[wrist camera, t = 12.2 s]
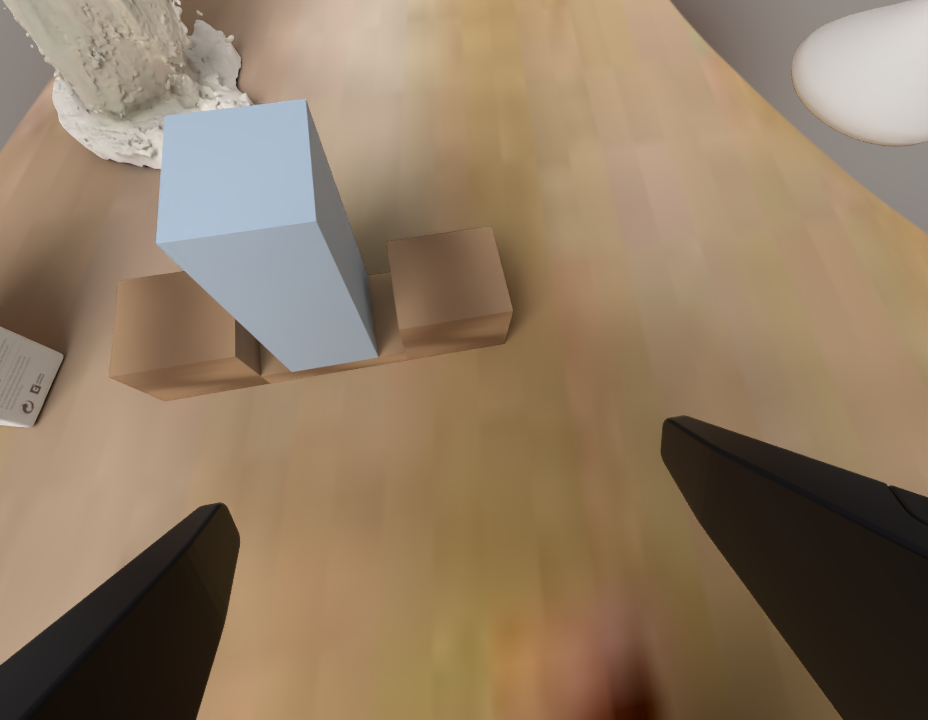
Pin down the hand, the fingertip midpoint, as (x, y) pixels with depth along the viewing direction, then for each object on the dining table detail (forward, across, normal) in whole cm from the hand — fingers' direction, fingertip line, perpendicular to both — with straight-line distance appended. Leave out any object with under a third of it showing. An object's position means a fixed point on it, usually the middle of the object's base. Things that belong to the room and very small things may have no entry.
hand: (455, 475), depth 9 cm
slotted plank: (+17, +5, +2) cm, 18 cm away
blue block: (+16, +5, +1) cm, 17 cm away
